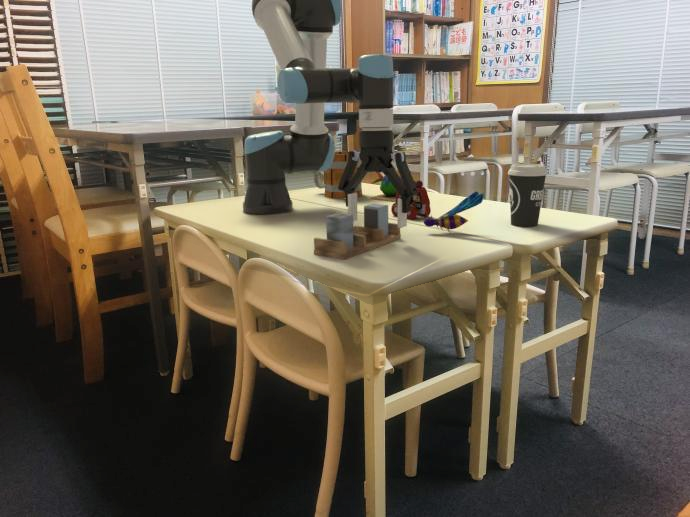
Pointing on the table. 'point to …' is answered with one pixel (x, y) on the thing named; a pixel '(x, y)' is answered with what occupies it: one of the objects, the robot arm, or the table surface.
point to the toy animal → (385, 189)
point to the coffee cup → (526, 193)
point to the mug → (337, 176)
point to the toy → (455, 213)
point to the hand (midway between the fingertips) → (376, 223)
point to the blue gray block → (376, 217)
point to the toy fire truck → (415, 203)
